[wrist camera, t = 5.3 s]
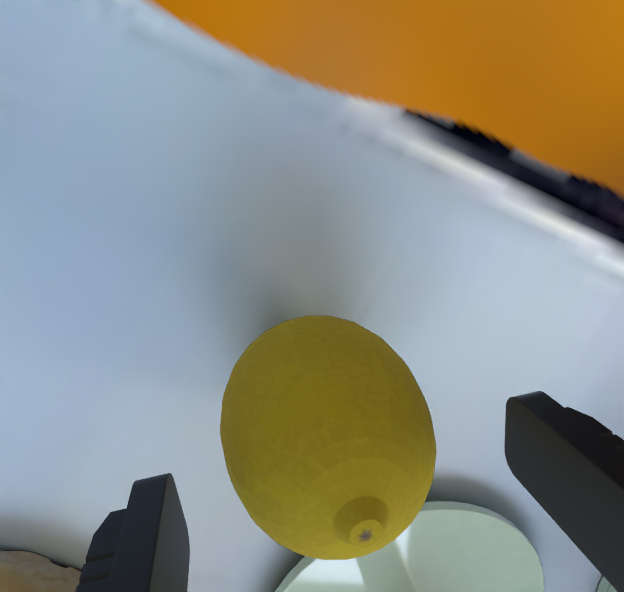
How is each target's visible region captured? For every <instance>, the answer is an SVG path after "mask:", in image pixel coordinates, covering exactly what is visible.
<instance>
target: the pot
mask: <svg viewBox="0 0 624 592" xmlns="http://www.w3.org/2000/svg"><path fill="white" fill-rule="evenodd" d="M597 592H617V591H616V589H615V588H614V587H613V586H612V585H611V584H610V583H609V582H608V581H607V579H606V578H605V577H604V576H603V577H602V579H601V581H600V583H599V586H598V589H597Z"/></svg>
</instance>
